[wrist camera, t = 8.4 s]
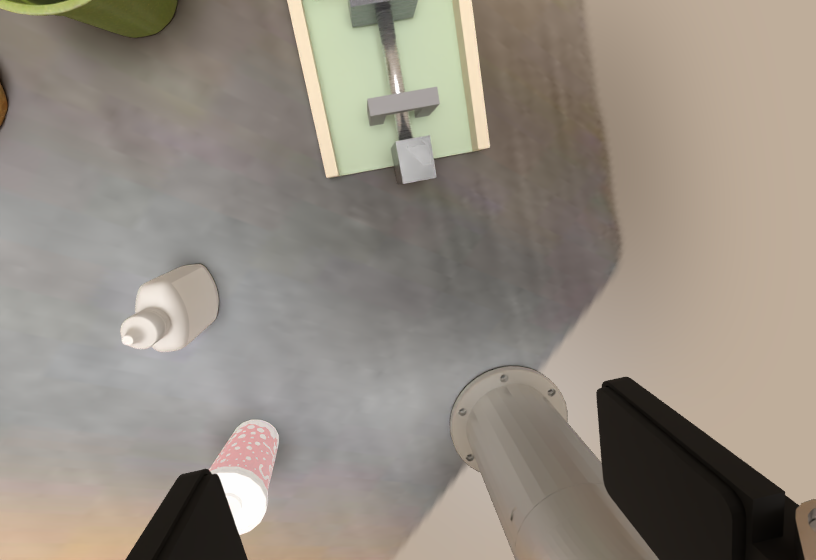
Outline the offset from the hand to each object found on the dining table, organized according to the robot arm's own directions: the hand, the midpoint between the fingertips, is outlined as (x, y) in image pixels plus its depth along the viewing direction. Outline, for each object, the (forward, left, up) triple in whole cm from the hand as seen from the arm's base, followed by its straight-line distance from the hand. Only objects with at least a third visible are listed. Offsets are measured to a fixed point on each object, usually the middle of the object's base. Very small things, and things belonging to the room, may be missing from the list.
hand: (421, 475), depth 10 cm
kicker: (+14, -4, -29) cm, 32 cm away
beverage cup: (-16, +16, -31) cm, 38 cm away
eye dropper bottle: (0, +17, -31) cm, 35 cm away
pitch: (+18, -4, -30) cm, 35 cm away
